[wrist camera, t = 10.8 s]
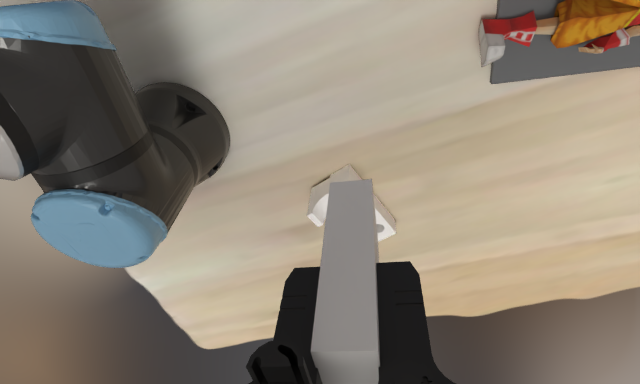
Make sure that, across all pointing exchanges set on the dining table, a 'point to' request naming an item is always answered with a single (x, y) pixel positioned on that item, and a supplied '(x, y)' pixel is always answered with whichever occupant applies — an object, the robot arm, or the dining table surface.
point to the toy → (565, 27)
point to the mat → (553, 50)
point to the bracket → (320, 202)
